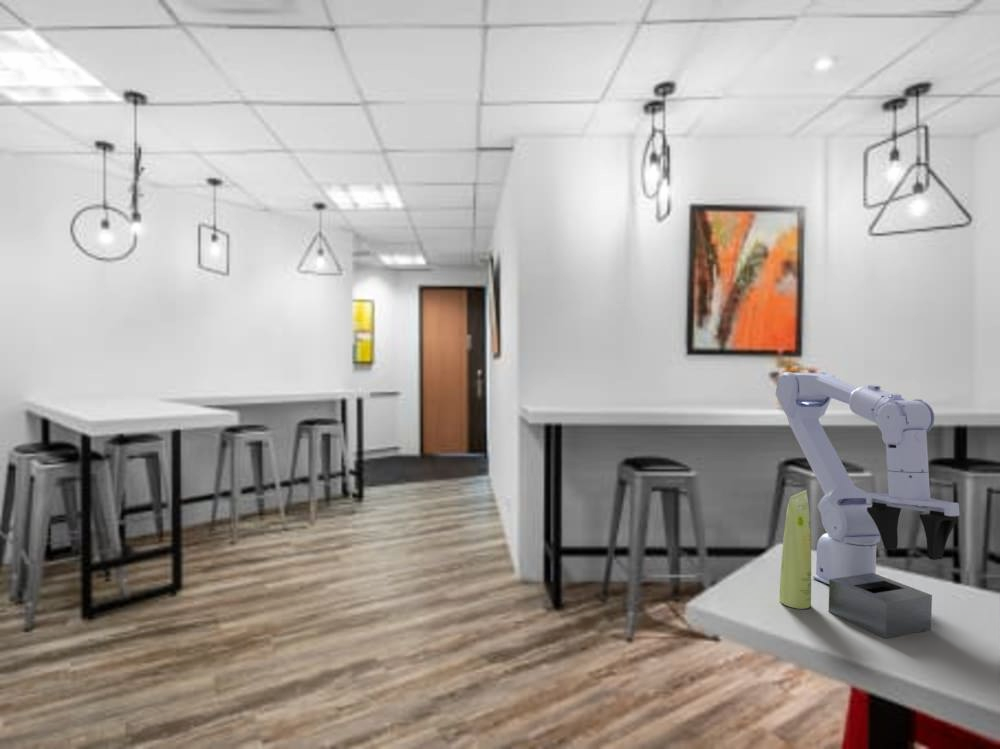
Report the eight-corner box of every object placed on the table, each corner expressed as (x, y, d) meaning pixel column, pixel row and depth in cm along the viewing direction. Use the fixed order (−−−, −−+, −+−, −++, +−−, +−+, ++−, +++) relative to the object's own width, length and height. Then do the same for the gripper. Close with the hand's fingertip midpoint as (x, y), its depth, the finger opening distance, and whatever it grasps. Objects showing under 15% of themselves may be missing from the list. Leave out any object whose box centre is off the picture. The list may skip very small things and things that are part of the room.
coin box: (828, 611, 97) (829, 579, 97) (871, 604, 101) (872, 572, 101) (885, 638, 88) (886, 602, 88) (930, 629, 91) (931, 595, 91)
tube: (818, 612, 97) (821, 497, 97) (786, 610, 98) (789, 495, 97) (803, 598, 103) (806, 489, 102) (774, 596, 103) (777, 488, 103)
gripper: (851, 468, 103) (855, 546, 102) (934, 475, 89) (939, 565, 88) (881, 467, 105) (885, 543, 104) (966, 474, 91) (972, 562, 90)
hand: (912, 553), depth 96 cm, fingers open, 7 cm apart
